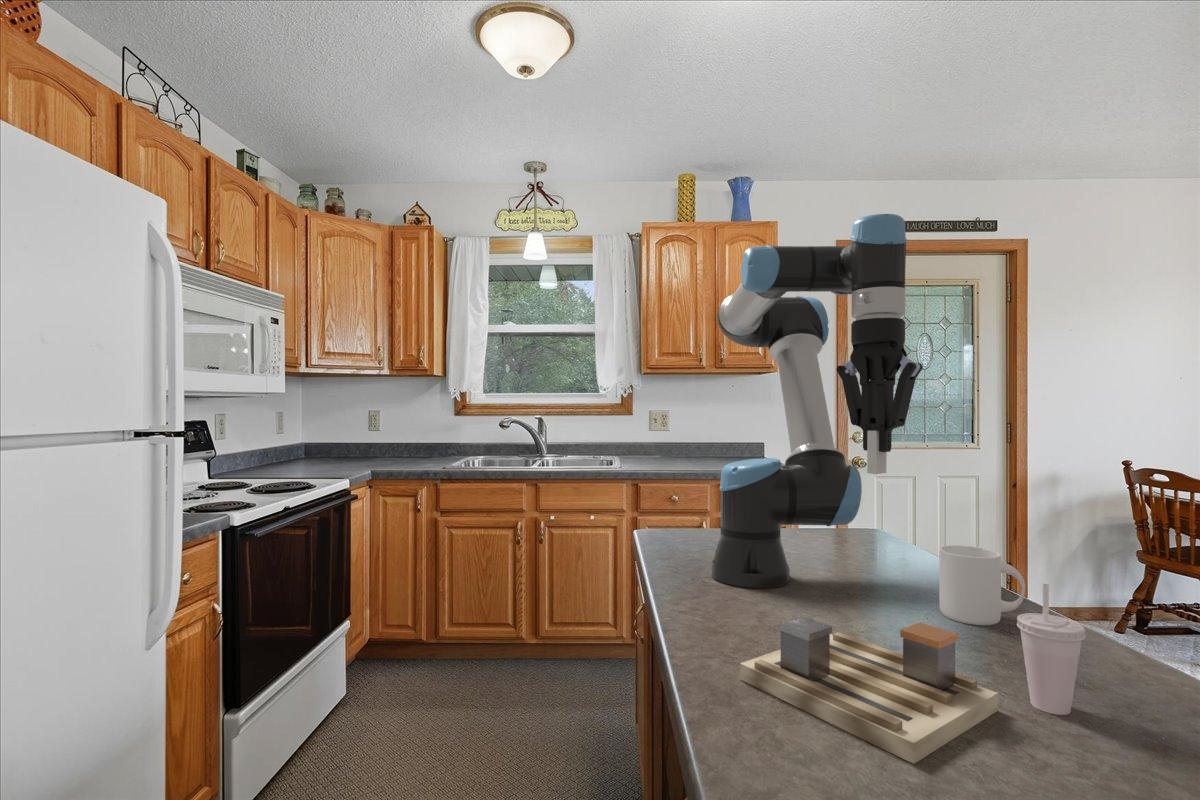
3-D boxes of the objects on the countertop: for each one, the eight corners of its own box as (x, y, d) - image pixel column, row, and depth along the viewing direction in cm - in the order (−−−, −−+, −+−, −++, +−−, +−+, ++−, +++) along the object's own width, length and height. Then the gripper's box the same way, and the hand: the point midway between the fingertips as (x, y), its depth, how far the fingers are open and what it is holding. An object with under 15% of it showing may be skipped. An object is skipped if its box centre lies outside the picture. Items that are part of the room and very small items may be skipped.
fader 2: (900, 679, 72) (900, 630, 72) (919, 670, 75) (919, 622, 75) (938, 694, 69) (938, 641, 69) (957, 683, 71) (958, 633, 71)
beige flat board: (739, 679, 77) (739, 656, 77) (827, 647, 88) (827, 627, 88) (913, 763, 59) (913, 734, 59) (997, 710, 69) (997, 685, 69)
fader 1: (778, 670, 75) (778, 622, 75) (801, 662, 77) (801, 615, 77) (809, 684, 71) (809, 634, 71) (832, 675, 73) (832, 626, 74)
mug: (1033, 632, 93) (1033, 561, 93) (944, 622, 98) (944, 554, 98) (1017, 614, 102) (1017, 549, 102) (935, 605, 106) (935, 543, 106)
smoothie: (1003, 694, 73) (1003, 576, 73) (1053, 692, 74) (1053, 575, 74) (1046, 722, 67) (1046, 593, 67) (1101, 720, 68) (1101, 592, 68)
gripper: (825, 321, 97) (824, 470, 98) (905, 312, 87) (904, 479, 87) (853, 324, 102) (853, 467, 102) (933, 316, 91) (932, 475, 91)
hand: (876, 472), depth 94 cm, fingers closed
